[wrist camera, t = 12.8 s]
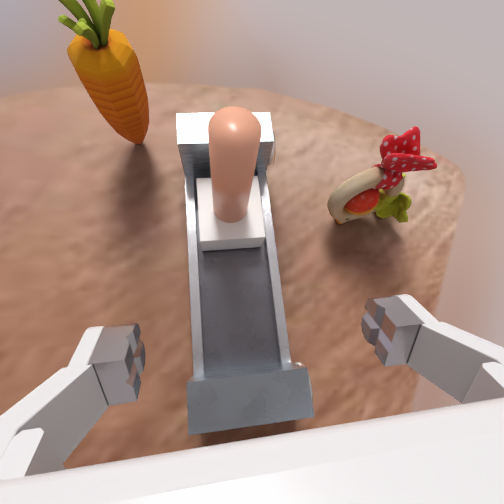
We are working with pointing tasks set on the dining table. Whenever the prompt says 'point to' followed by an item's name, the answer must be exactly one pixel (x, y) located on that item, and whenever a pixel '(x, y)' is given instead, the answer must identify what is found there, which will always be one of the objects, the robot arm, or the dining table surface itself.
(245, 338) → the rail track
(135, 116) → the carrot
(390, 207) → the decorative toy figure
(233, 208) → the carriage
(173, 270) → the dining table surface
